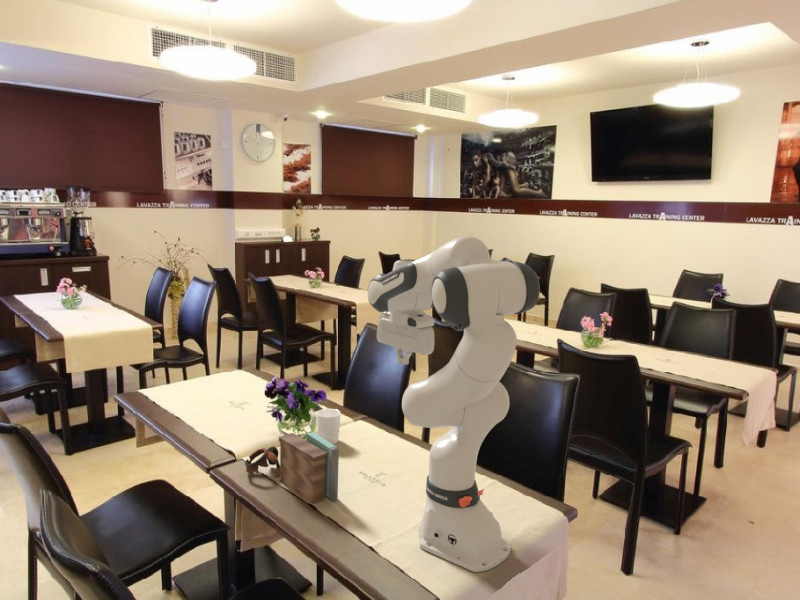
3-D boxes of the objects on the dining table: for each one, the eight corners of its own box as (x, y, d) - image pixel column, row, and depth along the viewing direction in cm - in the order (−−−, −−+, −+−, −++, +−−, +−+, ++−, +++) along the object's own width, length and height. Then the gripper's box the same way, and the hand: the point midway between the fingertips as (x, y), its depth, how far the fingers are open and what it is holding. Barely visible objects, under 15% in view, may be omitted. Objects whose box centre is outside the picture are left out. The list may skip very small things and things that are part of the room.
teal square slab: (339, 497, 149) (340, 448, 146) (331, 500, 147) (332, 451, 145) (312, 477, 159) (313, 431, 157) (305, 480, 158) (306, 433, 155)
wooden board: (326, 498, 149) (327, 452, 147) (312, 504, 146) (313, 457, 144) (292, 476, 161) (292, 433, 159) (278, 480, 157) (278, 437, 155)
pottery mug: (277, 484, 157) (262, 462, 154) (251, 492, 160) (235, 470, 157) (292, 456, 168) (278, 435, 165) (267, 464, 171) (253, 444, 168)
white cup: (335, 447, 181) (336, 418, 179) (312, 444, 183) (313, 415, 181) (342, 437, 189) (343, 410, 187) (320, 435, 190) (321, 407, 189)
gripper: (372, 311, 162) (371, 357, 164) (423, 323, 147) (420, 373, 150) (388, 309, 166) (386, 354, 168) (439, 320, 152) (436, 369, 154)
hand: (403, 363), depth 159 cm, fingers closed
